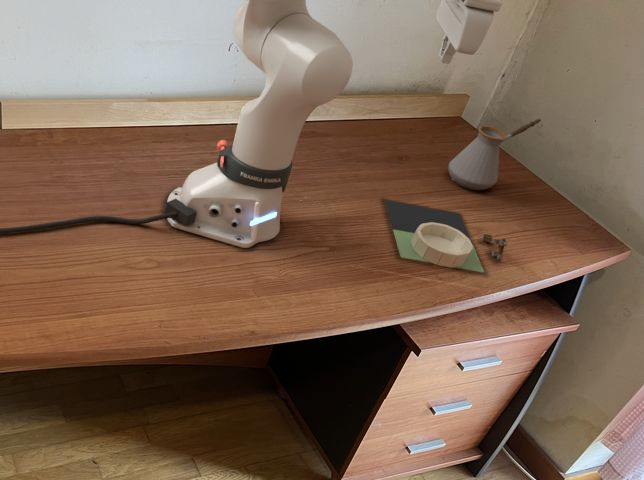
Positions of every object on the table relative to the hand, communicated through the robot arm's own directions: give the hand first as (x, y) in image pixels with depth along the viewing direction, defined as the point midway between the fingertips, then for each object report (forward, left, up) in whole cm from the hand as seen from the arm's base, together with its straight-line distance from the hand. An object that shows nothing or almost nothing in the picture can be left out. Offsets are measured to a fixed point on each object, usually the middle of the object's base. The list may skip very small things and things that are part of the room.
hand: (443, 60), depth 140 cm
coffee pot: (+25, +14, -29) cm, 41 cm away
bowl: (+7, -22, -29) cm, 37 cm away
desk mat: (+6, -16, -29) cm, 34 cm away
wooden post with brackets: (+19, -18, -29) cm, 39 cm away
